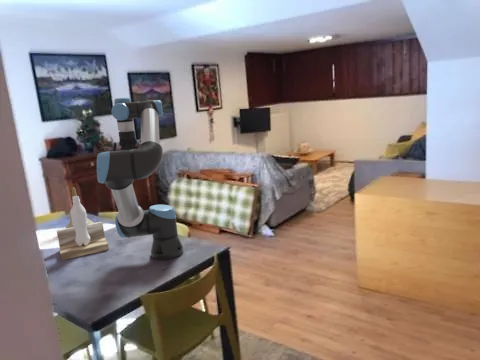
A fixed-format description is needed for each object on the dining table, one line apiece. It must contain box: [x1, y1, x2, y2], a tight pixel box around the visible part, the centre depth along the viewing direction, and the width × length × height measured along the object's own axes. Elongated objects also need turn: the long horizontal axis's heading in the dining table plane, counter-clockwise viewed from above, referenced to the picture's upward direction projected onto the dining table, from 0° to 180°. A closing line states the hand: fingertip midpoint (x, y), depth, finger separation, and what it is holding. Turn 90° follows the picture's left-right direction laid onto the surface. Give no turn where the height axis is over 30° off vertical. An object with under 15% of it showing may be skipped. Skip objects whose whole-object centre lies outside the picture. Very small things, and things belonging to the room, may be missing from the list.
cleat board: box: [56, 221, 110, 261], centre depth 205 cm, size 14×22×11 cm, turn 115°
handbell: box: [65, 186, 94, 228], centre depth 238 cm, size 15×15×25 cm
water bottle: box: [70, 195, 90, 246], centre depth 203 cm, size 7×7×25 cm
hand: (132, 173), depth 201 cm, fingers open, 13 cm apart
